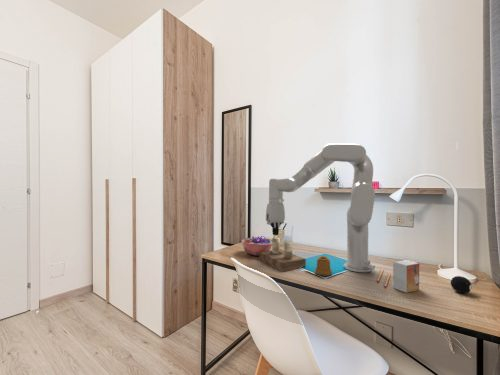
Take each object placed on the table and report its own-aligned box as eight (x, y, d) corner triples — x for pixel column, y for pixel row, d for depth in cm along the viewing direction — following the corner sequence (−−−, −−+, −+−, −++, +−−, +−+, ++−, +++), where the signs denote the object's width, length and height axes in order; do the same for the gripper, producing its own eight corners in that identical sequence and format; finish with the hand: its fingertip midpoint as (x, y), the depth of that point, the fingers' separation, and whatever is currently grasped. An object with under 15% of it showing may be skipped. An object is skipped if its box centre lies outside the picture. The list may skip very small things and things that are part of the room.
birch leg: (276, 259, 135) (276, 237, 135) (281, 260, 131) (281, 238, 131) (270, 260, 133) (270, 238, 133) (275, 262, 129) (275, 239, 129)
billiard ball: (455, 288, 96) (455, 273, 96) (474, 293, 91) (474, 278, 91) (447, 291, 94) (447, 275, 94) (467, 297, 88) (467, 280, 88)
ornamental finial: (335, 275, 110) (320, 277, 108) (325, 270, 117) (312, 271, 115) (335, 258, 110) (320, 259, 108) (325, 253, 117) (312, 254, 115)
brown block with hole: (305, 266, 121) (305, 243, 121) (283, 271, 115) (283, 246, 115) (279, 255, 141) (279, 235, 141) (259, 259, 134) (259, 237, 134)
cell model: (251, 249, 156) (251, 231, 156) (278, 254, 145) (278, 235, 145) (234, 255, 143) (235, 235, 142) (263, 261, 131) (263, 240, 131)
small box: (406, 293, 91) (406, 265, 91) (392, 287, 97) (392, 261, 97) (419, 289, 95) (420, 263, 95) (405, 284, 100) (405, 259, 100)
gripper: (282, 200, 139) (282, 232, 139) (260, 201, 132) (260, 234, 132) (291, 201, 132) (290, 234, 132) (268, 201, 125) (267, 237, 125)
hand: (275, 234), depth 132 cm, fingers closed
